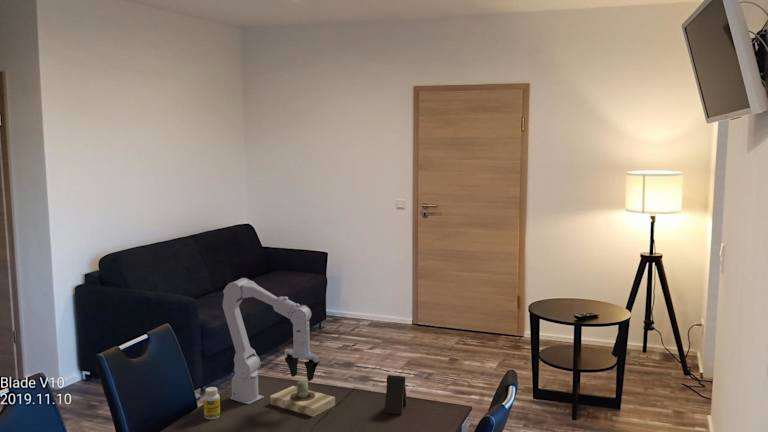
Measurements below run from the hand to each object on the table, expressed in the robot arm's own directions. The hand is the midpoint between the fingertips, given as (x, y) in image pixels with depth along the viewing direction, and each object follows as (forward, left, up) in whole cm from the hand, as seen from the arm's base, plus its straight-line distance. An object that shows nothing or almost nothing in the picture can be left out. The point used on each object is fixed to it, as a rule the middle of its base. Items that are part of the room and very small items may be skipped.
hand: (302, 377), depth 238 cm
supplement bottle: (-19, -25, -10) cm, 33 cm away
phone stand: (+30, +15, -10) cm, 35 cm away
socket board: (0, 0, -10) cm, 10 cm away
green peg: (0, 0, -10) cm, 10 cm away
